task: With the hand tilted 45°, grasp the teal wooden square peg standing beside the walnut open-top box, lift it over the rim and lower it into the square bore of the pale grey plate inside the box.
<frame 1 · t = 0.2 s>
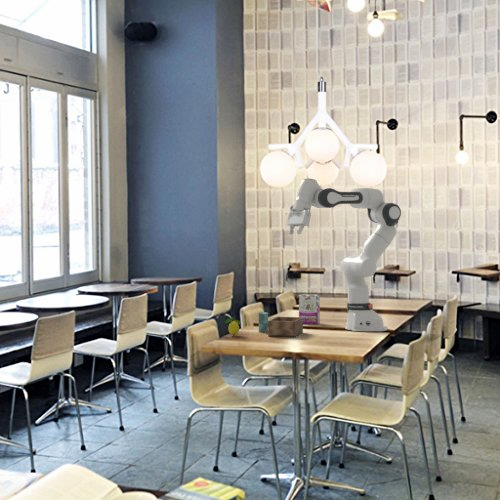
hand: (294, 234, 412), 52 cm above the table, tool tilted 20°, fingers open, 8 cm apart
lemon: (233, 336, 409), on the table
candy bar box: (309, 324, 451), on the table
walnut box: (285, 334, 412), on the table
peg: (263, 331, 422), on the table
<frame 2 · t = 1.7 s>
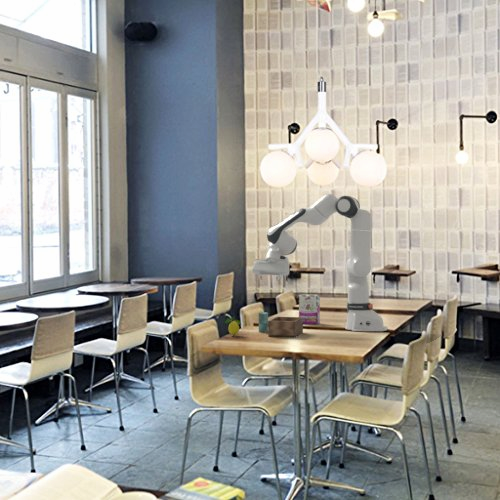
hand: (268, 279, 431), 27 cm above the table, tool tilted 45°, fingers open, 8 cm apart
nothing on the table moved.
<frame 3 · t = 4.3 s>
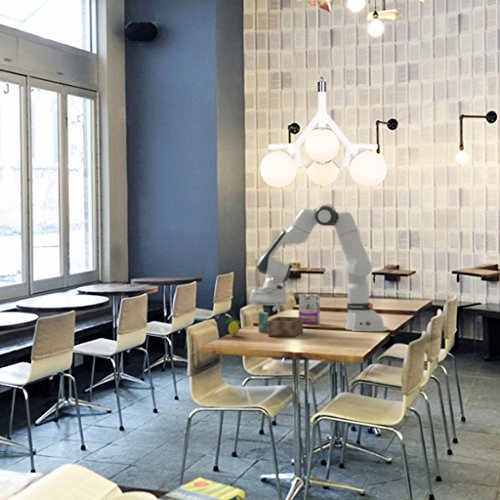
hand: (265, 310, 427), 11 cm above the table, tool tilted 45°, fingers open, 8 cm apart
nothing on the table moved.
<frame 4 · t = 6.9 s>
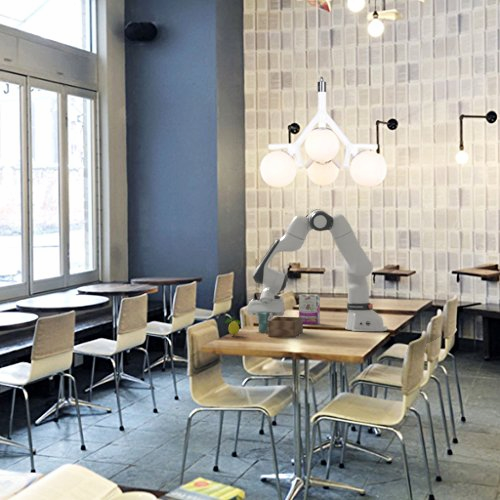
hand: (263, 320, 422), 6 cm above the table, tool tilted 45°, fingers closed on peg, 4 cm apart
peg: (263, 331, 422), on the table, touching gripper
everything else where it was.
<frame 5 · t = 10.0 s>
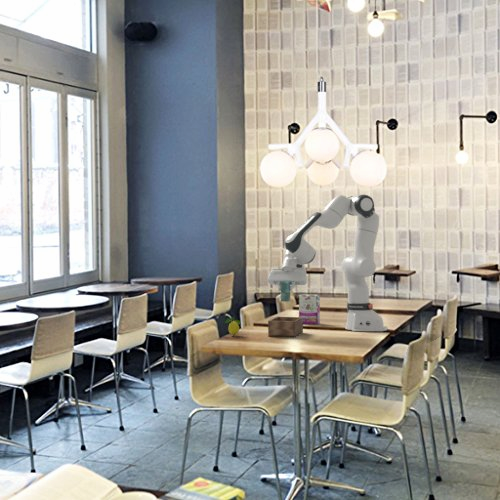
hand: (285, 289, 410), 23 cm above the table, tool tilted 45°, fingers closed on peg, 4 cm apart
peg: (285, 301, 411), point 17 cm above the table, touching gripper
everything else where it was.
when the fingers open (8 cm above the table, at t = 13.6 s): peg drops 1 cm, resting on walnut box.
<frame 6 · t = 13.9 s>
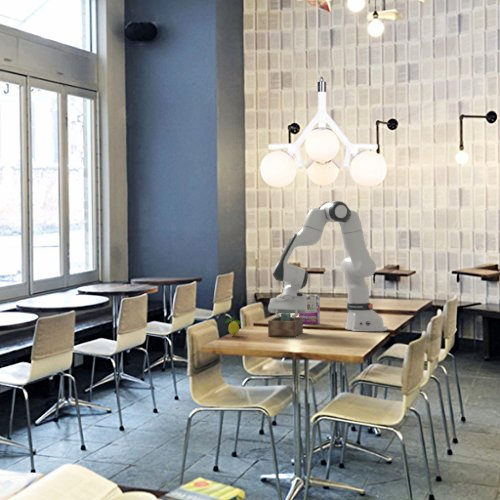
hand: (285, 318, 411), 8 cm above the table, tool tilted 45°, fingers open, 7 cm apart
peg: (285, 332, 412), point 1 cm above the table, touching walnut box
everything else where it was.
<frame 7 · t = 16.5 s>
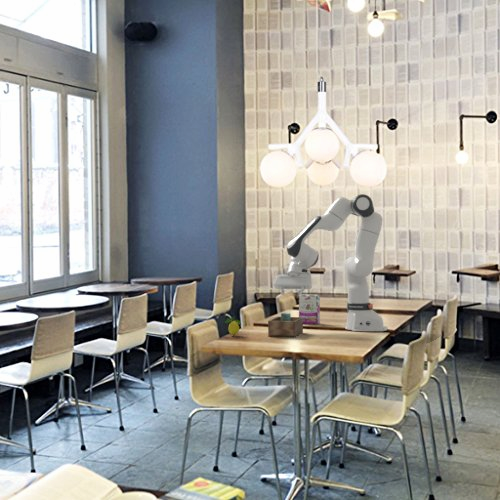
hand: (291, 294, 421), 20 cm above the table, tool tilted 45°, fingers open, 8 cm apart
nothing on the table moved.
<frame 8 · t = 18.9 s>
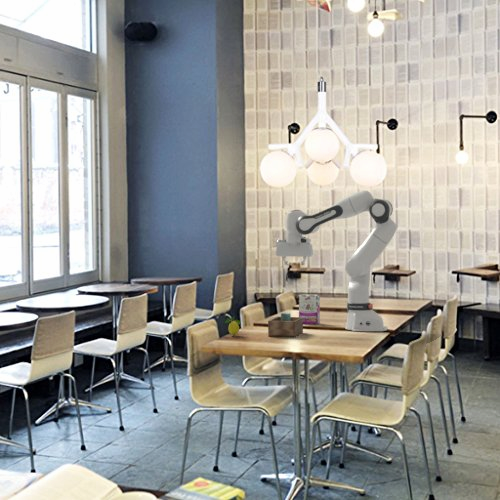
hand: (294, 264, 437), 34 cm above the table, tool pointing down, fingers open, 8 cm apart
nothing on the table moved.
at the end: peg 0.0 cm off-centre on the walnut box, point 1.0 cm above the walnut box's base; peg tilted 0°; the gripper is holding nothing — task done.
